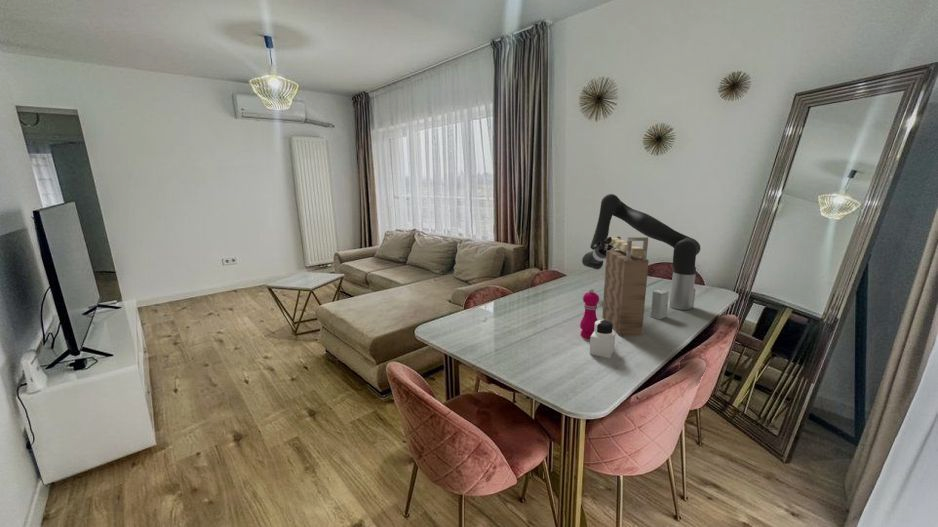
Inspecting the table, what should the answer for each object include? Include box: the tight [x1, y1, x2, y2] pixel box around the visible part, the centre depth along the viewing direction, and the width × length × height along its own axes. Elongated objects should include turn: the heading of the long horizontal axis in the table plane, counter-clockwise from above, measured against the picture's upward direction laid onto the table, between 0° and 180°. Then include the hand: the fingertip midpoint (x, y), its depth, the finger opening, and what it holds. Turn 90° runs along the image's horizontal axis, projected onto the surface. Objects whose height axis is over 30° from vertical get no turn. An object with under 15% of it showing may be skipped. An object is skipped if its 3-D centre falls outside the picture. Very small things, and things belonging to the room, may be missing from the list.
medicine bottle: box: [589, 319, 616, 359], centre depth 130 cm, size 7×7×12 cm
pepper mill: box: [579, 288, 600, 340], centre depth 142 cm, size 7×7×20 cm
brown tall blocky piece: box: [601, 236, 650, 337], centre depth 149 cm, size 20×9×40 cm, turn 179°
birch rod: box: [607, 236, 644, 257], centre depth 150 cm, size 30×3×3 cm, turn 179°
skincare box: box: [650, 288, 670, 320], centre depth 161 cm, size 6×4×12 cm
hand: (615, 238), depth 159 cm, fingers closed on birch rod, 3 cm apart
